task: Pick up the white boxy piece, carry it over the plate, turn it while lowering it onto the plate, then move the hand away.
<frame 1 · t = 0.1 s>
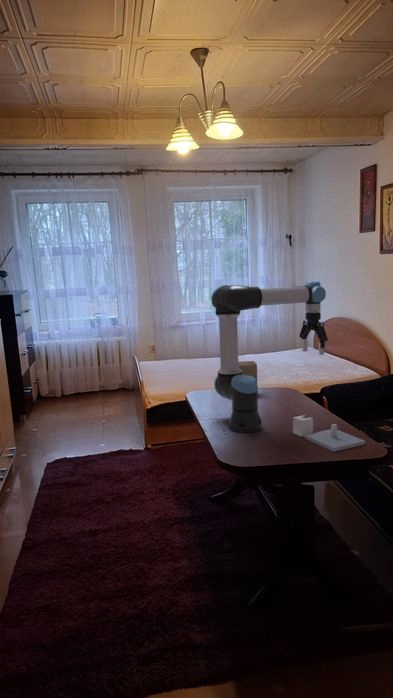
hand: (313, 353, 238), 28 cm above the table, fingers open, 13 cm apart
wooden block: (247, 396, 266), on the table
plate: (334, 441, 189), on the table
white boxy piece: (302, 433, 199), on the table
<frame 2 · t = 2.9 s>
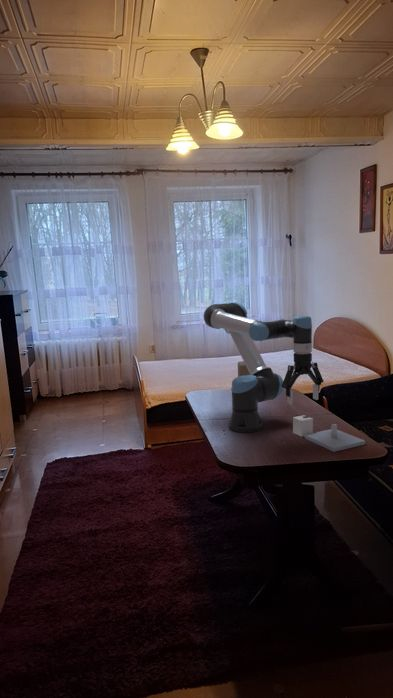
hand: (303, 401, 197), 14 cm above the table, fingers open, 13 cm apart
nothing on the table moved.
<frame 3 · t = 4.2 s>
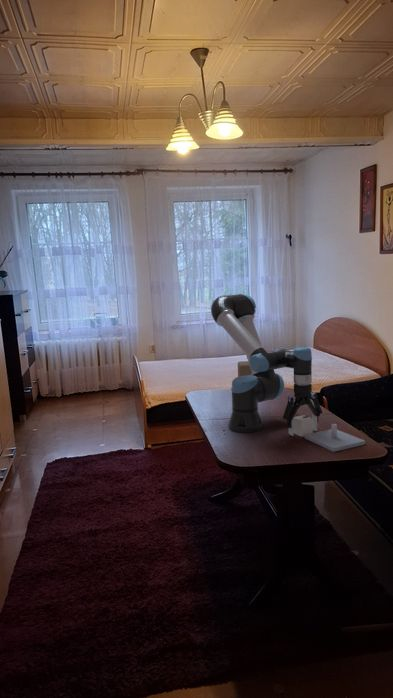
hand: (303, 432, 199), 1 cm above the table, fingers open, 12 cm apart
nothing on the table moved.
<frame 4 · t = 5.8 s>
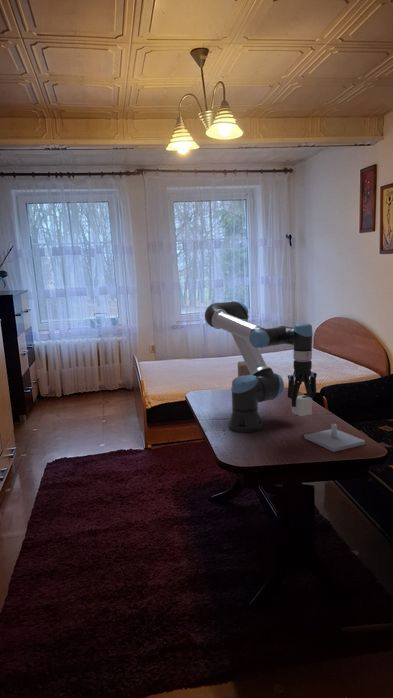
hand: (301, 412, 198), 9 cm above the table, fingers closed on white boxy piece, 6 cm apart
white boxy piece: (301, 413, 198), point 9 cm above the table, touching gripper
everything else where it was.
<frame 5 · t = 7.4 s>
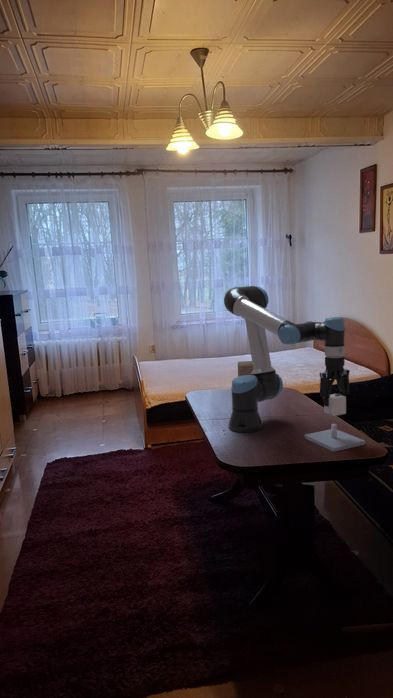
hand: (334, 412, 187), 12 cm above the table, fingers closed on white boxy piece, 6 cm apart
white boxy piece: (335, 413, 187), point 12 cm above the table, touching gripper
everything else where it was.
when the fingers open (3 cm above the table, at t = 9.5 s): white boxy piece drops 1 cm, resting on plate.
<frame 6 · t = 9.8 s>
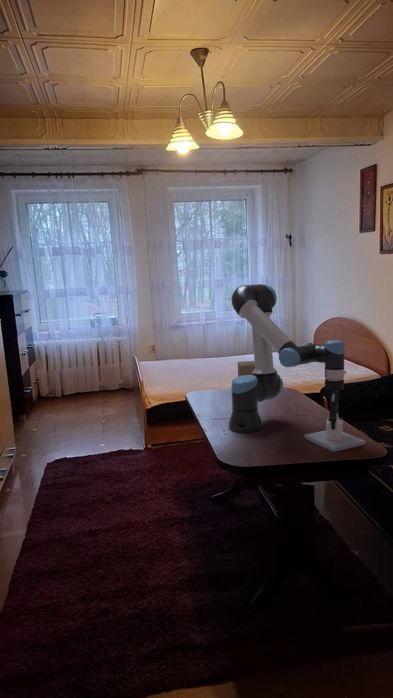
hand: (334, 432, 188), 4 cm above the table, fingers open, 9 cm apart
white boxy piece: (334, 437, 188), point 1 cm above the table, touching plate
everything else where it was.
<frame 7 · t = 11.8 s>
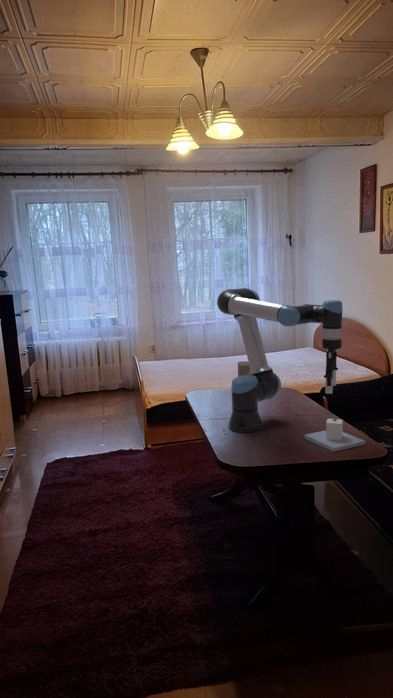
hand: (330, 389, 190), 21 cm above the table, fingers open, 13 cm apart
nothing on the table moved.
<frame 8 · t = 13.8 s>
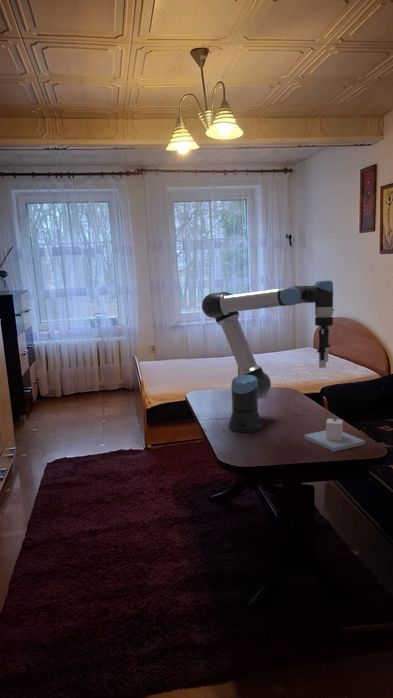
hand: (323, 364, 202), 29 cm above the table, fingers open, 13 cm apart
nothing on the table moved.
at the end: white boxy piece 0.1 cm off-centre on the plate, point 1.5 cm above the plate's base; white boxy piece tilted 0°; the gripper is holding nothing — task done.
